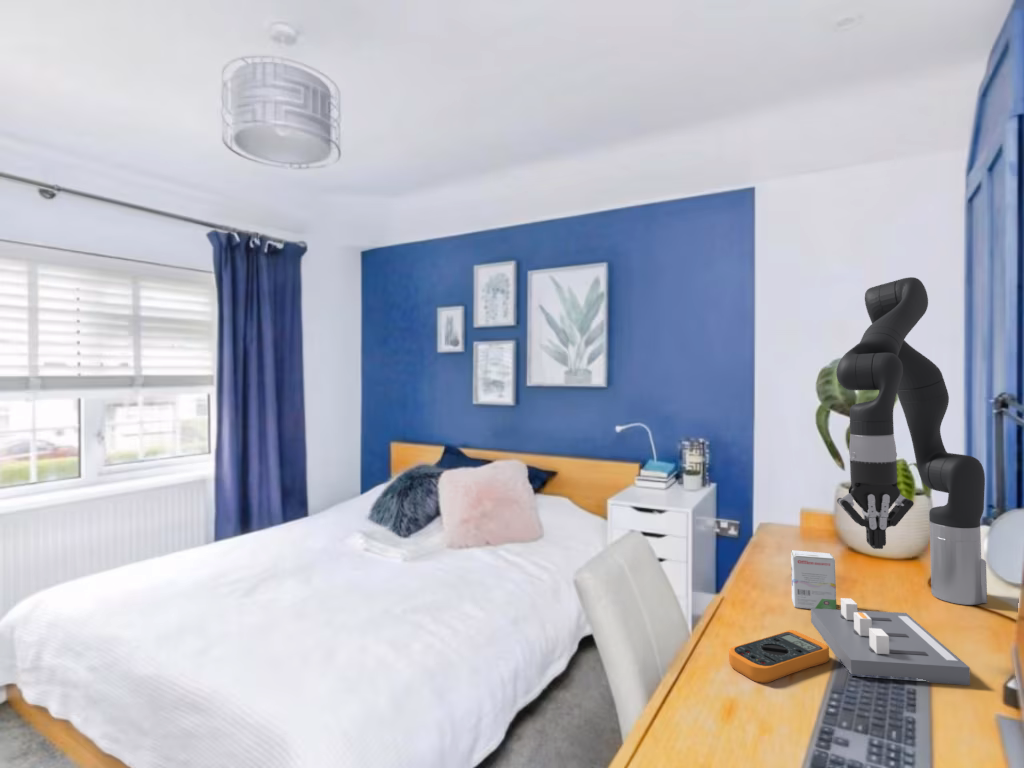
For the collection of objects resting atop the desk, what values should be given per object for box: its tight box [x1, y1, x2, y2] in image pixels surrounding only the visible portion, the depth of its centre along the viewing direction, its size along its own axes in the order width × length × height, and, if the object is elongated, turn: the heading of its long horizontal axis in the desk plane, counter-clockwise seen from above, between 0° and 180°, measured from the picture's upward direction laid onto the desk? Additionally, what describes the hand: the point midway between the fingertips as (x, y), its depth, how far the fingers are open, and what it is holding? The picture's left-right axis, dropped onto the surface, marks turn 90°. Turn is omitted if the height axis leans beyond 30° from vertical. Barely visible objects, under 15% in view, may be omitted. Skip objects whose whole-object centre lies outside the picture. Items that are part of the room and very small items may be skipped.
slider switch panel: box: [810, 608, 971, 686], centre depth 106 cm, size 18×22×3 cm
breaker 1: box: [840, 597, 858, 620], centre depth 114 cm, size 2×3×3 cm, turn 168°
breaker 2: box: [869, 628, 889, 654], centre depth 100 cm, size 2×3×3 cm, turn 168°
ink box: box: [790, 549, 837, 610], centre depth 127 cm, size 9×5×12 cm, turn 69°
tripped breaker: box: [854, 612, 872, 636], centre depth 107 cm, size 2×3×3 cm, turn 168°
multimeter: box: [728, 629, 830, 684], centre depth 103 cm, size 9×18×3 cm, turn 114°
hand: (876, 547), depth 107 cm, fingers closed
